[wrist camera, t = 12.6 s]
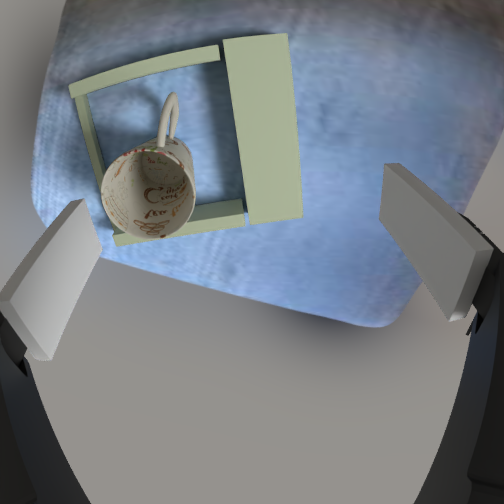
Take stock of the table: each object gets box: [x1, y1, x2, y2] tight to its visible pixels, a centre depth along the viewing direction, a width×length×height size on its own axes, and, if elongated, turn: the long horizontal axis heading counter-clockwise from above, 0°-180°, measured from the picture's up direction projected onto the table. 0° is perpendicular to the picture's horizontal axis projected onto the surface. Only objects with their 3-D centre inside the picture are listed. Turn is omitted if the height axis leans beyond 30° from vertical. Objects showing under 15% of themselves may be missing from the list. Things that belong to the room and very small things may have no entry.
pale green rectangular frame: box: [68, 33, 303, 247], centre depth 31 cm, size 20×22×4 cm
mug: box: [101, 92, 196, 240], centre depth 28 cm, size 8×13×10 cm, turn 168°
